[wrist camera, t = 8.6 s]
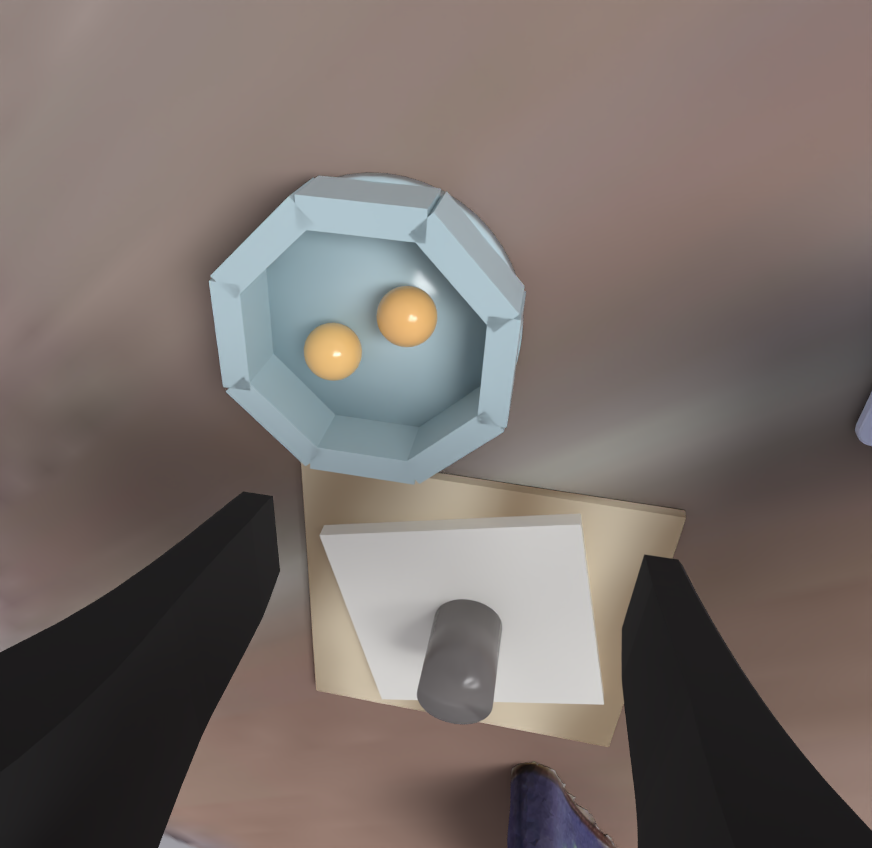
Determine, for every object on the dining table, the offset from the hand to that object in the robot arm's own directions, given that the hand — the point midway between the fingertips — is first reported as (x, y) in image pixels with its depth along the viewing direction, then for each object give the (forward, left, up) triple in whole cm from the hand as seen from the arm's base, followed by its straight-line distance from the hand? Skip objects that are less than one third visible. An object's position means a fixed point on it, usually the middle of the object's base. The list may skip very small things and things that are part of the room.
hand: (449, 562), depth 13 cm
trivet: (0, +13, -10) cm, 17 cm away
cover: (0, +13, -10) cm, 16 cm away
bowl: (+4, 0, -10) cm, 11 cm away
